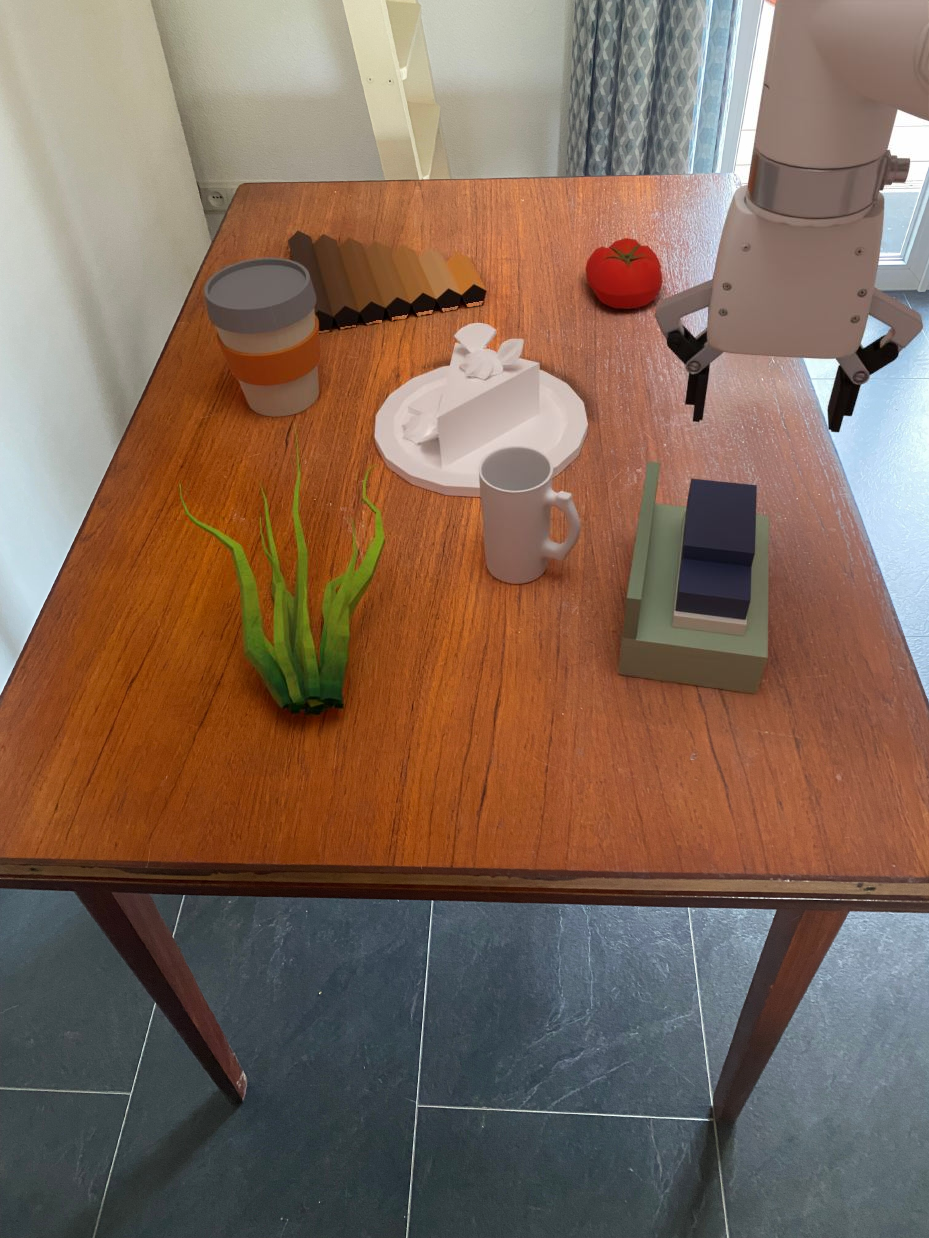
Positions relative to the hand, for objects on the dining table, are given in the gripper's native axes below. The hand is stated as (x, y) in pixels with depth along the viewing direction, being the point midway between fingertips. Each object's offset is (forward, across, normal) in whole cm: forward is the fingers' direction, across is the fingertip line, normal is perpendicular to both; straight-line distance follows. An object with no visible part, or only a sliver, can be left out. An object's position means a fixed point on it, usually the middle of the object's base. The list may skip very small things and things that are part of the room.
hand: (764, 416), depth 67 cm
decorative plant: (+23, +41, +5) cm, 47 cm away
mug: (+23, +19, -4) cm, 30 cm away
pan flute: (+22, +51, -60) cm, 82 cm away
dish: (+22, +29, -26) cm, 45 cm away
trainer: (+18, +2, -2) cm, 18 cm away
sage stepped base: (+23, +3, -2) cm, 23 cm away
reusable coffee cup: (+22, +55, -29) cm, 66 cm away
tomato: (+22, +16, -60) cm, 66 cm away
